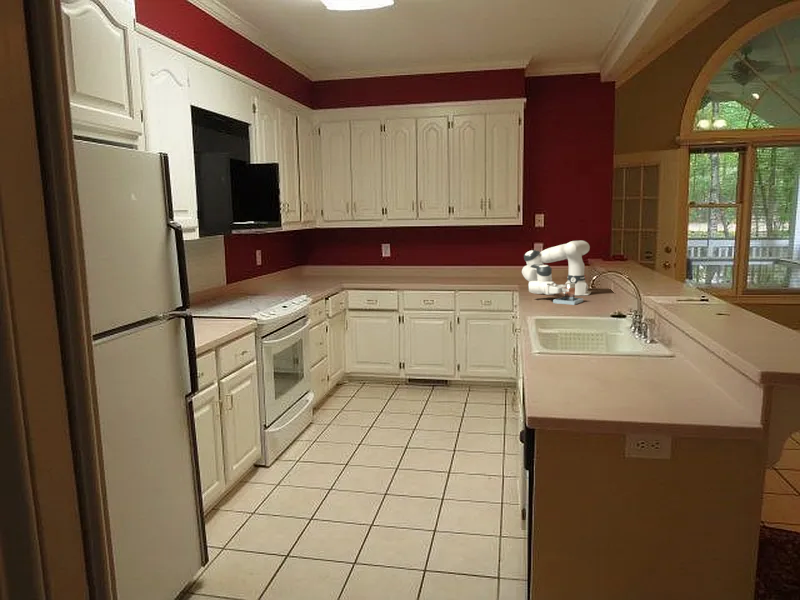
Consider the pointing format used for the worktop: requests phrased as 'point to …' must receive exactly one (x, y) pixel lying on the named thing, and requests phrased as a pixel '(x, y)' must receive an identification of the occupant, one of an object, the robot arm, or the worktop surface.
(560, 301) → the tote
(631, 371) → the worktop surface
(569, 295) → the clear glass cup
